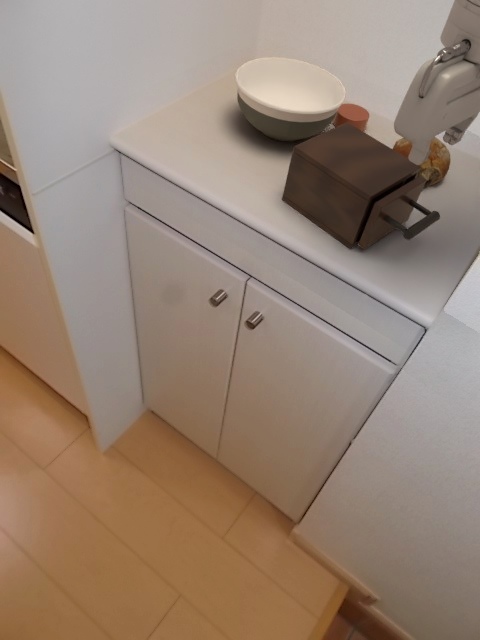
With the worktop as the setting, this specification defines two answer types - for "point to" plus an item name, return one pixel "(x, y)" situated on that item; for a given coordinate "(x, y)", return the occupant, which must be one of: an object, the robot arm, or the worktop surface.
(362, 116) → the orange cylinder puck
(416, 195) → the drawer
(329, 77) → the bowl
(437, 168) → the bread roll
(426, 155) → the robot arm
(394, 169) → the cabinet
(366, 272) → the worktop surface
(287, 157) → the worktop surface
